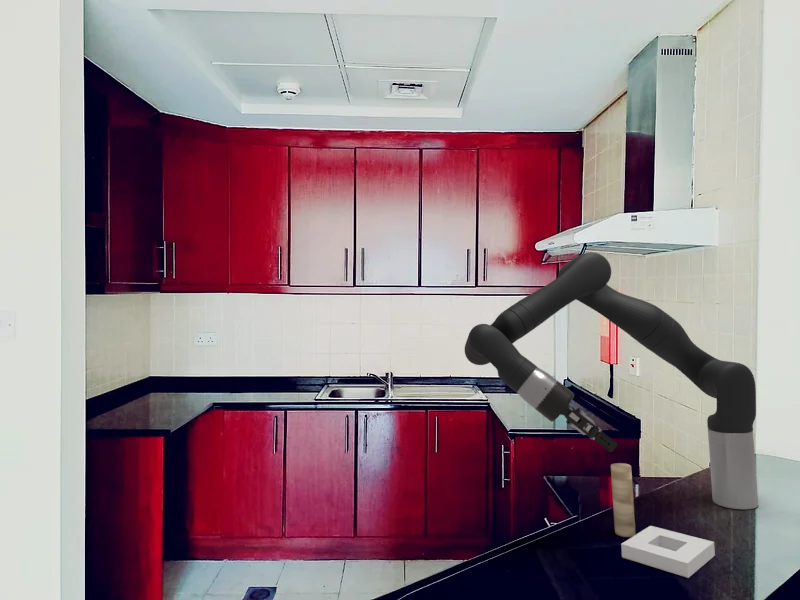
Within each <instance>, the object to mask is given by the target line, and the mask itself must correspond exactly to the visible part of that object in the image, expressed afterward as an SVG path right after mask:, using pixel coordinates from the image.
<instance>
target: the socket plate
mask: <svg viewBox="0 0 800 600" xmlns="http://www.w3.org/2000/svg"><path fill="white" fill-rule="evenodd" d="M620 546H621V547H620V548H621V558H623V559H626V560H629V561H633V562H635V563H639V564H642V565H646V566H648V567H653V568H655V569H659V570H661V571H665V572H668V573H671V574H675V575H678V576H681V577H684V578H687V579H689V578H690V577H691V576H693V574H695V573H696V572H698V570H700V568H702V567H703V566H704V565H705V564H707V562H709V561H710V560H712V559H713V558H714V557H715V556H716V553H715V541H712V540H708V539H704V538H701V537H700V538H699V537H696V536H692V535H688V534H685V533H680V532H676V531H673V530H669V529H666V528H661V527H657V526H653V525H649V526H648V527H646V528H644V529H642V530H641V531H639V532H638V533H636V534H635V536H632V537H629V539H628V538H627V540H625V541H624V542H622V543H621V544H620Z"/></svg>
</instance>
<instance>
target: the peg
mask: <svg viewBox="0 0 800 600" xmlns="http://www.w3.org/2000/svg"><path fill="white" fill-rule="evenodd" d="M610 473H611V474H610V475H611V488H612V489H611V491H612V504H613V505H612V506H613V520H614V521H613V524H614V533H615V535H617V536H620V537H623V538H631V537H633V536H635V535H636V534H637V532H636V522H635V521H636V520H635V503H634V490H633V475H632V465H630V463H629V464H628V463H624V462H623V463H622V462H618V463H611V464H610Z"/></svg>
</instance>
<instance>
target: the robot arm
mask: <svg viewBox="0 0 800 600" xmlns="http://www.w3.org/2000/svg"><path fill="white" fill-rule="evenodd" d="M557 276H558V277H557V278H555V279H554V280H552V281H551V282H549V283H548V284H546V285H544V286H543V287H541V288H539V289H538V290H536V291H533V292H532V293H530V294H529V295H527V296H524V297H523V298H521V299H520V300H518V301H517V302H515V303H514V304H513V305H511V306H509V307H508V308H506V309H504V310H503V311H501V313H499V314H498V316H497V317H496V318H495V319H494V321H493V322H492V323H491V324H486V323H479V324H477V325H475V326H473V327H472V329H471V330H470V331H469V333H468V336H467V338H466V342H465V345H464V354H465V357H466V359H467V361H469V362H470V363H471V364H473V365H475V366H476V365H477V366H486V365H488V364H491V365H492V366H493V368H495V369H496V371H497V376H498V378H499V379H500V380H501V382H503V384H505V385H507V386H508V387H509V388H510V389H511V390H512V391H514V392H515V393H517V395H518V396H519V397H521V398H522V399H523V400H524V401H525V402H526V403H527V404H528V405H529V406H530V407H532V408H533V409H534V410H535V411H537V412H538V413H540V414H541V415H542V416H543V417H545V418H546V419H547V420H548V421H550V422H551V423H552V422H555V421H556V420H557V419H558V418H559V417H560V416H564V418H565V419H566V421H565V422H566V424H567V425H568V426H570V427H571V428H573V429H575V430H577V431H578V432H579V433H580V434H582V435H583V436H585V435H586V436H587V437H588V438H589V439H590V440H593V441H595V442H597V444H599V446H601V447H603V448H604V449H605V450H606V451H608V452H609V453H612V452H614V450H615V449H616V448H617V447H618V442H616V441H615V440H614V439H612V437H610V436H608V435H607V434H606V433H605V432H603V431H602V429H601V427H599V426H598V425H596V424H595V420H593V419H592V418H591V417H589V416H588V415H586V412H584V411H583V409H581V408H579V406H577V407H576V408H574V407H573V406H570V403H571V402H572V400H573V399H574V397H575V393H574V392H573V391H571V389H569V388H568V387H566V386H565V385H564V384H562V383H561V382H560V381H558V380H557V379H556V378H555V377H553V376H552V375H550V374H549V373H548V372H547V371H545V370H543V369H541V368H540V367H538V366H537V365H536V364H535V363H533V362H532V361H530V360H529V359H528V358H527V357H525V356H524V355H522V353H520V351H519V350H518V349H517V347H516V346H515V345H514V343H515V342H518V340H520V339H522V338H524V337H525V336H526V335H528V334H529V333H530V332H532V331H534V330H535V329H536V328H537V327H539V326H540V325H542V324H543V323H545V322H546V321H547V320H548V319H550V318H551V317H552V316H553V315H555V314H556V313H558V312H559V311H560V310H562V309H563V308H565V307H566V306H567V305H570V304H571V303H573V302H574V301H578V302H580V303H582V304H583V305H585V306H587V307H588V308H590V309H591V310H594V311H595V312H597V313H598V314H600V315H602V316H603V317H604V318H606V319H607V320H608V321H609V322H611V323H612V324H613V325H615V326H616V327H618V328H620V330H622V332H623V331H624V333H626V334H628V335H629V336H630V337H632V339H633V340H634V341H636V342H637V343H639V344H641V346H643V347H644V348H646V349H647V350H649V351H650V352H652V353H653V354H655V355H656V356H657V357H659V358H660V359H662V360H663V361H665V362H666V363H668V364H670V365H672V366H673V367H674V368H676V369H677V370H678V371H679V372H680V373H682V374H683V375H684V376H685V377H686V378H687V379H688V380H690V381H691V383H693V384H694V385H695V386H696V387H697V388H699V390H700V391H702V392H703V393H704V394H705V395H707V396H709V397H711V398H713V399H716V408H715V409H716V411H715V413H713V414H710V415H708V417H707V419H706V424H707V426H706V427H707V436H708V450H709V451H708V452H709V463H710V464H709V465H710V479H711V480H710V481H711V494H712V496H711V497H712V502H713V503H714V504H716V505H718V506H720V507H724V508H728V509H734V510H753V509H756V508H758V507H759V496H758V495H759V494H758V480H757V469H756V468H757V465H756V464H757V463H756V453H755V442H754V441H755V439H754V423H755V420H756V416H757V391H756V390H757V389H756V388H757V387H756V381H755V377H754V374H753V372H752V370H751V369H750V368H749V367H748V366H747V365H745V364H743V363H740V362H735V361H728V360H720V359H718V358H716V357H715V356H712V355H710V354H709V353H707V352H706V351H704V350H703V349H702V348H700V347H699V346H697V345H696V344H695V343H694V341H692V340H691V338H690V337H689V335H688V333H687V332H686V330H685V329H684V328H683V326H682V325H681V323H679V322H678V321H677V320H676V319H675V318H673V317H672V316H671V315H669V314H668V313H667V312H666V311H664V310H663V309H661V308H660V307H658V306H656V304H653V303H650V302H648V301H645V300H643V299H640V298H636V297H633V296H631V295H627V294H625V293H623V292H620V291H618V290H615V289H614V288H612V287H611V286H609V285H608V283H609V282H610V279H611V277H612V267H611V264H610V262H609V261H608V259H607V258H606V257H605V256H604V255H602V254H600V253H597V252H592V251H591V252H585V253H582V254H579V255H578V256H576V257H574V258H573V259H571V260H569V261H568V262H566V263H565V264H564V265H563V266H562V267H561V268H560V269H559V272H558V275H557Z"/></svg>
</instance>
